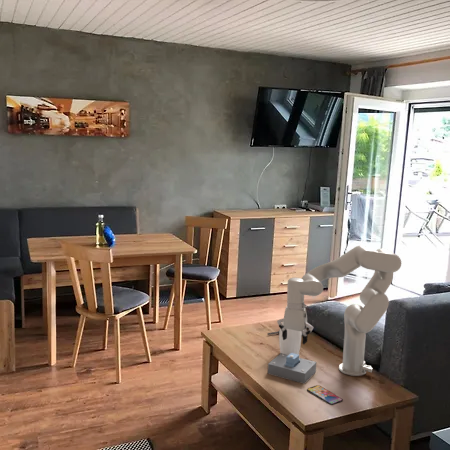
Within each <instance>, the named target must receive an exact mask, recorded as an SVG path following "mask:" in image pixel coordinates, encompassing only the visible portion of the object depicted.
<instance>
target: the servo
mask: <svg viewBox="0 0 450 450" xmlns="http://www.w3.org/2000/svg"><path fill="white" fill-rule="evenodd" d="M299 358H300V354H299V355H298V354H294V353H290V354H289V355H288V356H287V357H286V363H285V366H288V367H292V368H293V367H295V366H296V365H297V364H299V361H300V360H301V359H299Z"/></svg>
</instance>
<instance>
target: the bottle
mask: <svg viewBox="0 0 450 450" xmlns="http://www.w3.org/2000/svg"><path fill="white" fill-rule="evenodd" d="M281 323H282V325H283V326H284V321H283V322H281ZM279 330H280V332H279V334H278V340H279V341H278V342H279V343H278V344H279V352H280V353H282V354H286V355H289V354H290V353H294V354H298V355H299V356H300V351H301V350H300V349H301V345H302V344H301V343H302V337H303V336H302V332H301V331H296V330H291V329H286V330H287V338H286V339H285V340H283V337H282V331H281V329H280V328H279ZM280 353H279V354H280Z"/></svg>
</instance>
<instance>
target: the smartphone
mask: <svg viewBox="0 0 450 450" xmlns="http://www.w3.org/2000/svg"><path fill="white" fill-rule="evenodd" d="M306 391H307V392H309V393H310V394H312V395H313V396H315V397H316V398H318V399H320V400H321V401H323V402H325V403H326V404H328V405H331V406H333V405H337V404H339V403H341V402H343V398H341V397H340V396H338V395H337V394H335V393H333V392H331V391H330V390H328V389H326V388H325V387H323V386H321V385H320V384H317V385H314V386H310V387H307V389H306Z"/></svg>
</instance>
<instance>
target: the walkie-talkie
mask: <svg viewBox="0 0 450 450" xmlns="http://www.w3.org/2000/svg"><path fill="white" fill-rule="evenodd" d="M279 332H280V329H279V330H278V331H273V332H272V331H271V332H267V336H271V335H276V334H278V335H279ZM301 337H303V333H302V336H301Z"/></svg>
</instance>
